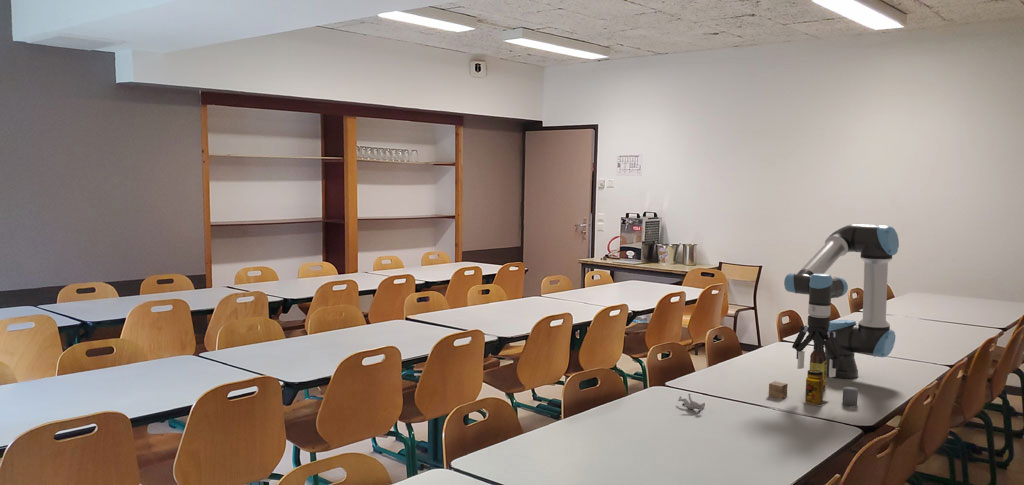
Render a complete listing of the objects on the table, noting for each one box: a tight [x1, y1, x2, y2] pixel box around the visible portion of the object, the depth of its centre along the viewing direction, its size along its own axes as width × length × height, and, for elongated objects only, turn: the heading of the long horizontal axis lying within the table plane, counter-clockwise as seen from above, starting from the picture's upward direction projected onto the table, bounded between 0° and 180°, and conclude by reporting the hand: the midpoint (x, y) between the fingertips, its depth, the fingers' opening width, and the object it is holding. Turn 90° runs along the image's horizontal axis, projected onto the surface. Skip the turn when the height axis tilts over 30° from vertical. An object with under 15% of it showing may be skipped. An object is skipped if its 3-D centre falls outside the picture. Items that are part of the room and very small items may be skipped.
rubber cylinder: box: [841, 386, 859, 408], centre depth 269 cm, size 5×5×6 cm
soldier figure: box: [677, 393, 706, 412], centre depth 262 cm, size 8×5×12 cm
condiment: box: [801, 369, 829, 407], centre depth 271 cm, size 7×8×12 cm
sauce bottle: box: [809, 340, 827, 390], centre depth 290 cm, size 6×6×20 cm
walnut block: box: [768, 380, 788, 400], centre depth 279 cm, size 5×5×5 cm
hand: (816, 372), depth 271 cm, fingers open, 13 cm apart
